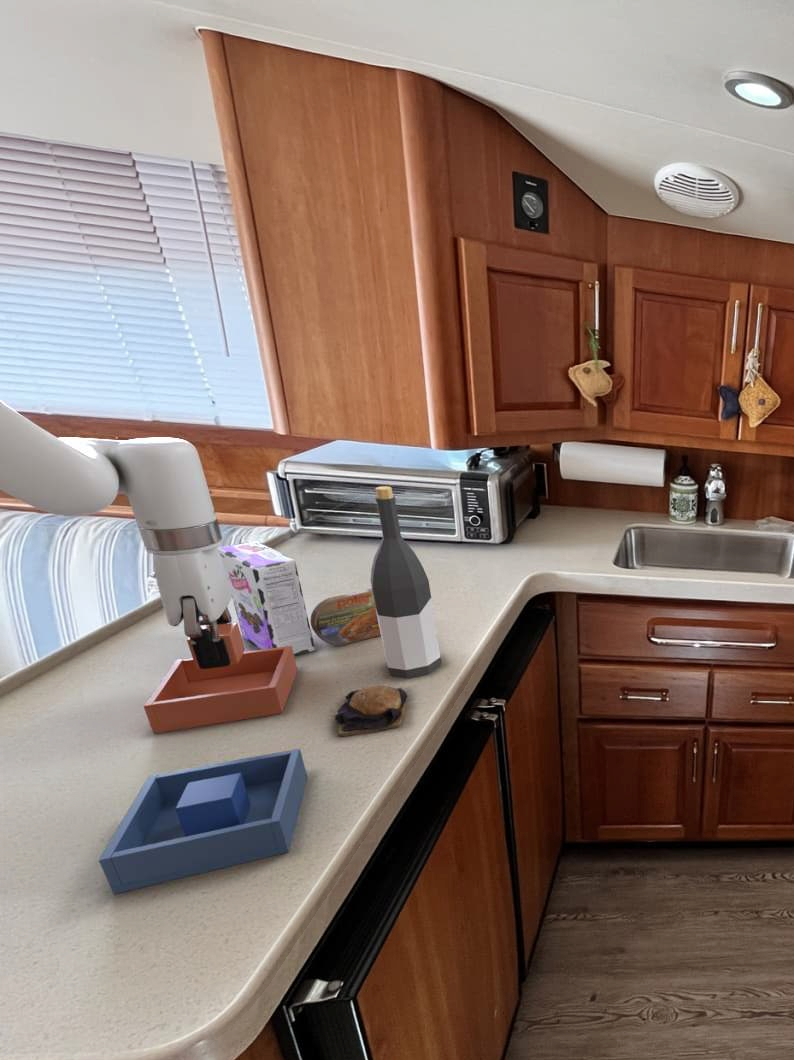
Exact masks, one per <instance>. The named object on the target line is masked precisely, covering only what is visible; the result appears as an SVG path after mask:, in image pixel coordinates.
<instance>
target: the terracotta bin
mask: <svg viewBox="0 0 794 1060" xmlns="http://www.w3.org/2000/svg"><path fill="white" fill-rule="evenodd" d="M298 669H299V668H298V665H297V661H296V656H294V653H293V649H292V646H286V647H279V648H270V649H262V650H261V649H256V650H247V651H246V650H245V651H244V653H243V655H242V657H241V659H240V661H239V663H238V664H231V665H229V666H225V667H217V668H209V669H201V668H200V669H196V666H195V663H194V660H193V657H189V658H180V659H176V660H175V661H173V664H172V665H171V666H170V668H169V669H168V671H167V672H166V673H165V675H164V676H163V678H161V680H160V682H159V683H158V685H157V686H156V688H155V689H154V690H153V692H152V693H151V695H150V696H149V698H148V699H147V700H146V702H145V703H144V704H143V709H144V712H145V714H146V717H147V719H148V722H149V725H150V728H151V731H152V733H153V734H160V733H167V732H172V731H179V730H184V729H191V728H198V727H204V726H210V725H217V724H222V723H223V724H224V723H229V722H235V721H236V722H237V721H241V720H247V719H254V718H261V717H266V716H267V717H268V716H273V715H278V714H283V712H284V709H285V707H286V704H287V701H288V698H289V696H290V692H291V690H292V687H293V684H294V682H295V678H296V675H297V673H298V671H299V670H298Z"/></svg>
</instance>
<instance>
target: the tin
mask: <svg viewBox="0 0 794 1060" xmlns="http://www.w3.org/2000/svg"><path fill="white" fill-rule="evenodd" d="M310 628H311V630H312V631H313V632H314V633H315V635H316V636H317V637H318V638H319V639H320V640H321V641H323V642H325V643H327V644H330V645H333V646H347V645H350V644H353V643H357V642H361V641H364V640H367V639H371V638H376V637H378V636H381V633H380V628H379V622H378V617H377V612H376V607H375V602H374V597H373V591H372V587H371V588H367V589H366V588H365V589H362V590H358V591H354V592H348V593H345V594H340V595H337V596H336V595H335V596H331V597H327V598H325V599H323V600H322V601H320V602H319V603H318V604H317V605H316V606H315V607H314V608H313V610H312V611H311V614H310Z"/></svg>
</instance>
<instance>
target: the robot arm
mask: <svg viewBox="0 0 794 1060" xmlns="http://www.w3.org/2000/svg"><path fill="white" fill-rule="evenodd" d="M0 491H2V492H4V493H6V494H7V495H9V496H11V497H13V498H15V499H17V500H18V501H21V502H22V503H25V504H27V505H29V506H31V507H33V508H35V509H38V510H41V511H44V512H47V513H50V514H53V515H56V516H63V517H86V516H90V515H94V514H97V513H100V512H102V511H104V510H105V509H107V508H109V507H110V505H112V504H113V502H114V501H115V499H116V498H117V496H118V495H121V494H122V495H124V496H126V497H127V498H128V501H129V504H130V507H131V510H132V513H133V516H134V519H135V522H136V525H137V528H138V531H139V533H140V537H141V540H142V543H143V545H144V548H145V551H146V553H149V554H152V562H153V568H154V574H155V575H154V576H155V579H156V584H157V587H158V588H157V589H158V592H159V596H160V599H161V603H162V606H163V610H164V613H165V617H166V621H167V623H168V624H169V625H170V626H172V627H178V626H179V625H180V624H181V623H182V622H183V625H184V626H183V630H184V635H185V636H187V637H188V638H189V637H190V642H191V644H192V646H193V649H194V652H195V655H196V658H197V661H198V664H199V667H200V668H201V669H209V668H217V667H225V666H229V665H230V663H231V662H230V658H229V655H228V652H227V649H226V645H225V642H224V639H220V636H219V632H218V627H217V625H218V624H228V623H233V622H232V621H233V619H232V615H231V612H230V611H229V608H228V607H229V604H230V603H231V601H232V594H231V588H230V584H229V580H228V577H227V573H226V570H225V567H224V564H223V561H222V558H221V556H220V553H219V550H218V548H219V547H221V546H222V545H223V544H224V538H223V534H222V531H221V528H220V524H219V521H218V518H217V515H216V512H215V508H214V507H215V506H214V504H213V500H212V498H211V494H210V490H209V487H208V483H207V480H206V476H205V473H204V469H203V465H202V462H201V458H200V455H199V451H198V450H197V448H196V447H195V445H194V444H192V442H190V441H187V440H186V439H182V438H177V437H143V438H133V439H128V440H121V439H120V440H117V439H99V438H88V437H87V438H85V437H57V436H56V435H54V434H52V433H50V432H49V431H47V430H46V429H45V428H43V427H41V426H39V425H37V424H36V423H34V422H33V421H31V420H30V419H28V418H27V417H25V416H23V415H22V414H20V413H19V412H17V411H16V410H15V409H13V408H12V407H11V406H9V405H8V404H6V403H5V402H4V401H2V400H1V399H0ZM200 618H202V619H200ZM201 626H209V628H210V631H209V630H208V629H202V627H201Z"/></svg>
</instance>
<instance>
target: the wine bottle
mask: <svg viewBox="0 0 794 1060" xmlns="http://www.w3.org/2000/svg"><path fill="white" fill-rule="evenodd" d="M375 493H376V496H374V499H375V502H376V505H377V511H378V517H379V522H380V528H381V533H382V538H381V541H380V544H379V546H378V547H377V550H376V552H375V554H374V557H373V561H372V565H371V568H370V569H371V570H370V586H371V588H372V591H373V597H374V602H375V607H376V612H377V617H378V622H379V628H380V633H381V635H380V637H381V642H382V649H383V652H384V658H385V663H386V666H387V670H388V673H389V675H390V676H391V677H396V678H403V679H410V678H411V679H412V678H415V677H420V676H425V675H429V674H431V673H432V672H434V671H435V670H436V669H439V668H440V667H441V666H442V656H441V651H440V644H439V638H438V632H437V625H436V624H437V623H436V619H435V612H434V607H433V600H432V595H431V586H430V580H429V578H428V575H427V573H426V571H425V569H424V567H423V565H422V562H421V561H420V559H419V558H418V555H417V554H416V553H415V551H414V550H413V549H412V548H411V546H410V545H409V544H408V543H407V542H406V540H405V539H404V537H402V534H401V533H402V532H401V528H400V523H399V522H400V521H399V516H398V515H399V514H398V509H397V503H396V502H397V500H396V496H395V495H394V494H393V493H394V492H393V488H392V487H391V486H387V485H385V486H383V485H382V486H377V487H375Z"/></svg>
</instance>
